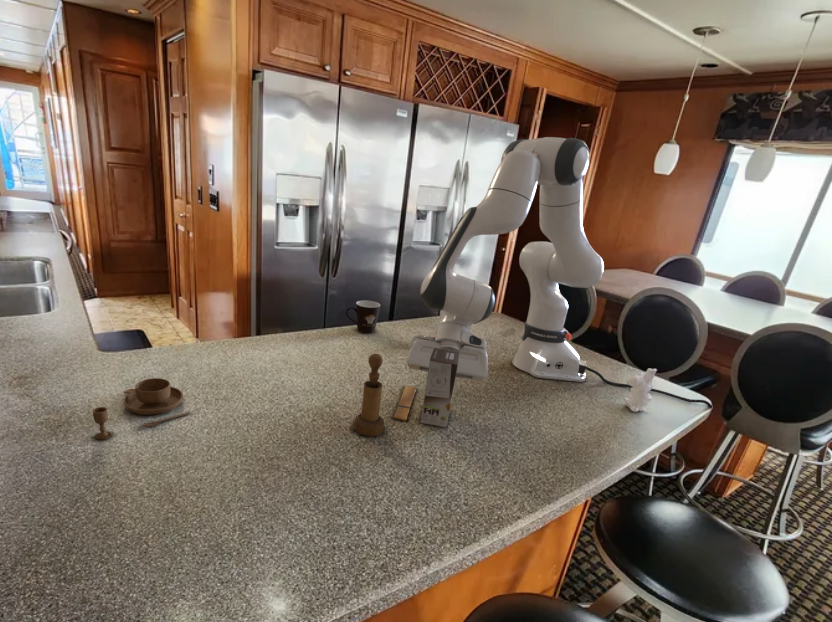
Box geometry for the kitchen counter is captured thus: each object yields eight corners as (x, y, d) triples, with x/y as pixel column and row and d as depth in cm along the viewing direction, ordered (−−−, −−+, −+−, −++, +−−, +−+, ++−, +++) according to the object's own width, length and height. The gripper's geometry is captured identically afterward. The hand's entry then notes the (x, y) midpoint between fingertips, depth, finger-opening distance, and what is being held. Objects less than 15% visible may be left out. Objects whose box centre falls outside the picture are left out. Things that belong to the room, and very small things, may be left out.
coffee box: (447, 428, 106) (458, 365, 100) (419, 423, 107) (429, 360, 101) (449, 410, 114) (460, 351, 109) (424, 405, 115) (433, 346, 110)
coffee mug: (378, 328, 169) (381, 302, 165) (376, 335, 161) (379, 308, 157) (347, 324, 169) (349, 298, 166) (343, 331, 161) (345, 304, 158)
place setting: (199, 412, 102) (197, 388, 100) (99, 443, 88) (95, 416, 86) (164, 383, 112) (163, 361, 110) (70, 407, 98) (66, 382, 96)
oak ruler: (416, 389, 124) (416, 387, 123) (405, 421, 107) (406, 419, 107) (405, 387, 124) (405, 385, 124) (393, 418, 108) (393, 416, 107)
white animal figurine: (634, 401, 130) (647, 363, 126) (656, 413, 125) (670, 373, 120) (614, 405, 127) (626, 365, 123) (635, 416, 121) (649, 376, 117)
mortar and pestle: (387, 425, 104) (395, 353, 98) (377, 439, 99) (386, 363, 92) (360, 418, 106) (366, 346, 100) (349, 431, 100) (355, 356, 94)
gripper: (412, 328, 118) (401, 377, 112) (492, 342, 114) (484, 393, 109) (412, 339, 123) (402, 386, 118) (489, 352, 120) (481, 401, 115)
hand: (442, 390), depth 113 cm, fingers closed, pressing on coffee box
